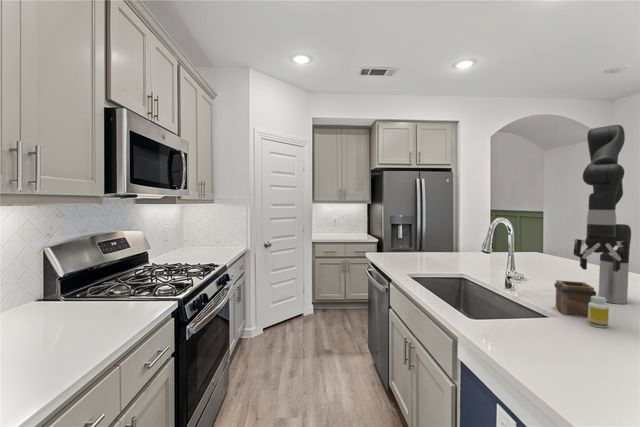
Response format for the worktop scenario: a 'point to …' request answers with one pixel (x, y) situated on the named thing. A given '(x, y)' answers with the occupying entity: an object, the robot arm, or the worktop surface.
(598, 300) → the supplement bottle
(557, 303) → the brown wooden box
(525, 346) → the worktop surface
